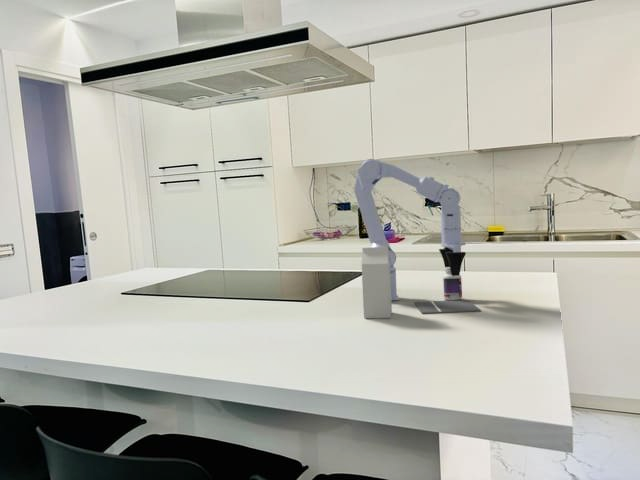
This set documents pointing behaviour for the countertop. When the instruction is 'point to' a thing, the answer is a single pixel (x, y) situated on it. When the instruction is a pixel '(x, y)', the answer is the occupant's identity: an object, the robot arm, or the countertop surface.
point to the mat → (446, 306)
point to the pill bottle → (452, 286)
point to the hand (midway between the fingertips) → (452, 273)
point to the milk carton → (376, 282)
